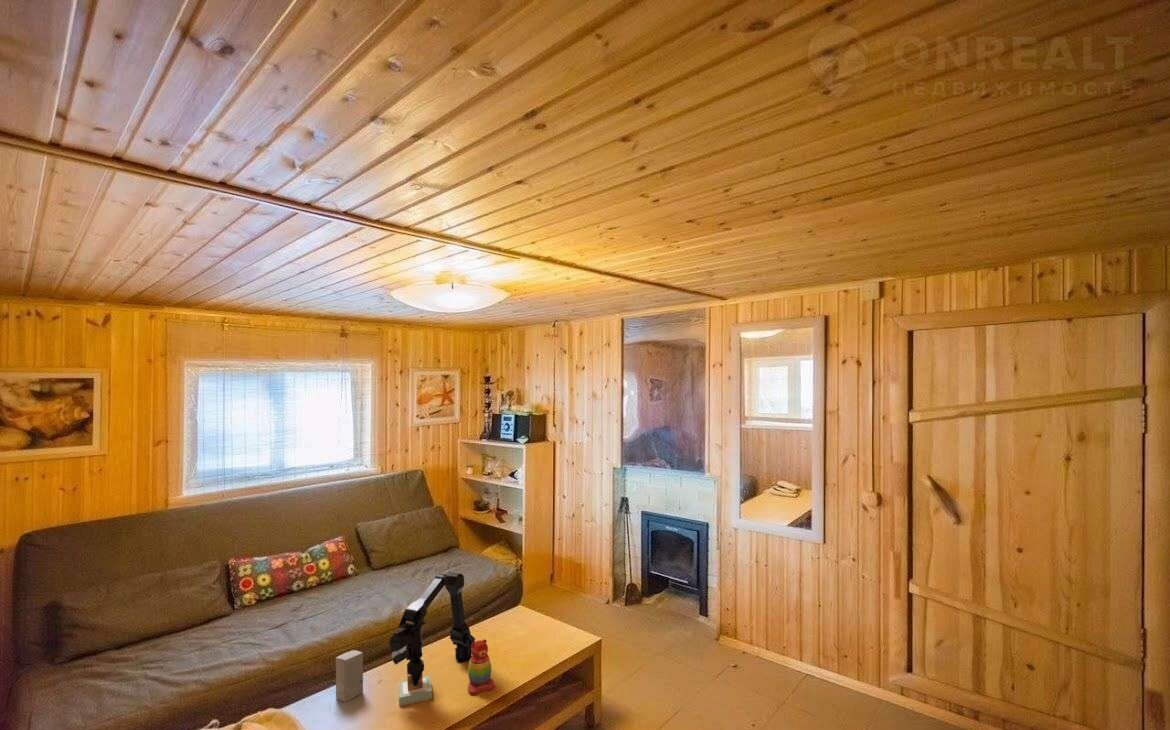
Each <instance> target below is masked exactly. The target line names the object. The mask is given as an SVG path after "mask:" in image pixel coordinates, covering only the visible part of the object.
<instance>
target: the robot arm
mask: <svg viewBox="0 0 1170 730" xmlns="http://www.w3.org/2000/svg"><path fill="white" fill-rule="evenodd" d="M444 587H445V590H446V591H447V593H448V594H449V596H450V597H449V599H450V606H451V615H452V622H453V625H452V626H451V628H450V630H449V639H450V640H451V642H452V645H454V646H455V645H456V646H455V648H454V652H455V653H454V656H455V657H454V658H455V660H456V662H457V663H464V662H468V661H470V659H471V657H472V656H473V655H472V653H471V645H472V643H474V642H476V637H474V636H473V635H472V633H471V629H470V627H469V625H468V623H466V620H465V612H464V611H465V610H464V604H463V602H464V601H463V594H462V591H463V589H464V587H465V575H464V574H463V573H461V572H460V573H459V572H454V571H449V572H447V573H445V574H444V573H442V574H437V575H436V576H434V579H433V580H432V582H430V584H429V586H427V588H426V589H425V590H424V591H423V593H422V594H421V596H420V597H419V598H418V599H417V600H415V601H413V602H412V603H410V604H409V605H408V606H407V607H406V608H405V610H404V611H403V615H402V617H401V619H400V621H399V624H398V630H395V631H393V635H392V636H391V637H390V639H389V647H390V649H391V650H392V651H393V652H392V653H391V659H392V663H394V665H398V664H399V663H401V662H403V661H405V660H406V661H408V662H407V664H406V674H407V673H408V674H410V675H411V676H412V680H413V684H414V686H417V684H418V682H419V679H420V677H421V674H422V675H423V672H424V671H425V663H424V660H423V659H422V657H423V633H422V631H423V630H422V629H423V628H422V627H423V626H425V625H426V621H424V619H425V617H426V615H427V614H428V608H429V606H430V605H431V604H432V603H433V601H434V600H435V599H436V597H437V596H438V595H439V593H440V592H441V591H442V590H443V588H444ZM410 623H411V624H410Z"/></svg>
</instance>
